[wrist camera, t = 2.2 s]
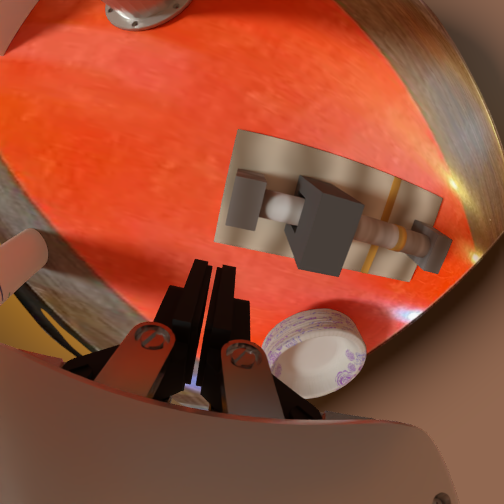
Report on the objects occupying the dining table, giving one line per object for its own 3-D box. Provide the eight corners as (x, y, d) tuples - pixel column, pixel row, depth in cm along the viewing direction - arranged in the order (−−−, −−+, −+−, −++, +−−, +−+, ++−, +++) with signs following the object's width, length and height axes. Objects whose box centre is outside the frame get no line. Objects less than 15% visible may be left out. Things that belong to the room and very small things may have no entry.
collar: (284, 230, 33) (298, 269, 24) (299, 174, 30) (322, 192, 21) (314, 237, 33) (338, 276, 24) (331, 183, 31) (364, 205, 21)
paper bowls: (348, 357, 45) (360, 389, 37) (265, 371, 45) (268, 406, 38) (355, 287, 38) (374, 320, 31) (254, 303, 39) (255, 340, 32)
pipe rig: (214, 238, 35) (207, 263, 28) (238, 129, 29) (235, 127, 23) (406, 278, 38) (428, 303, 32) (438, 196, 32) (468, 210, 26)
